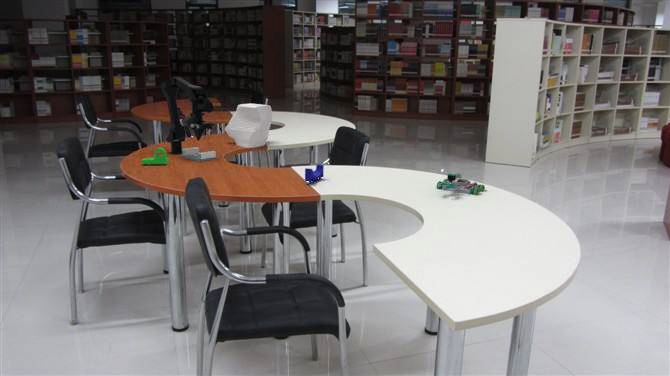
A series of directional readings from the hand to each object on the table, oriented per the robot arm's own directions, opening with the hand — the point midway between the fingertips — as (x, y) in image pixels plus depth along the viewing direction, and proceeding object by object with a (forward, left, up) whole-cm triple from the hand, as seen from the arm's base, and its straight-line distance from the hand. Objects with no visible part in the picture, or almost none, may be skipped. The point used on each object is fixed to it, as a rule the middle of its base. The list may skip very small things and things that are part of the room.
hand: (198, 140), depth 293 cm
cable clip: (+77, +10, -10) cm, 78 cm away
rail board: (0, 0, -10) cm, 10 cm away
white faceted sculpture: (-10, +44, -10) cm, 46 cm away
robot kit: (+137, +36, -10) cm, 142 cm away
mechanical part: (-4, -23, -10) cm, 26 cm away
